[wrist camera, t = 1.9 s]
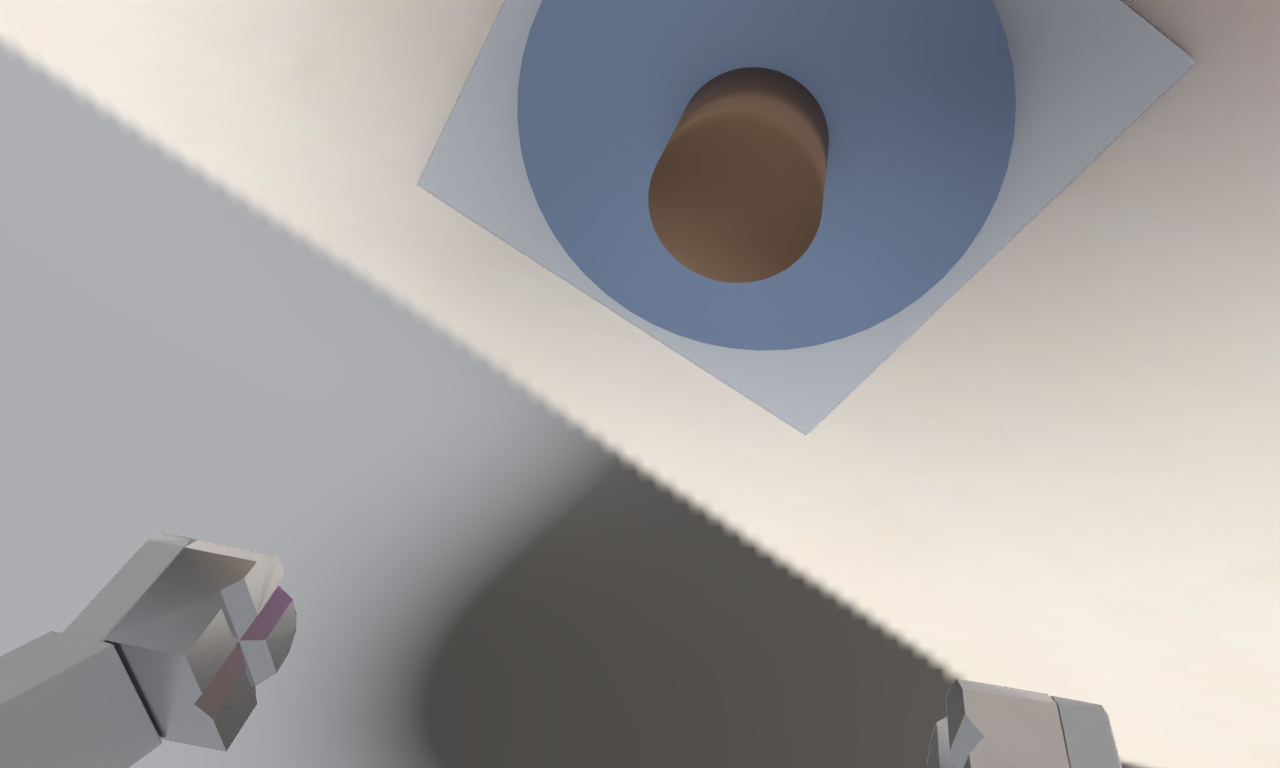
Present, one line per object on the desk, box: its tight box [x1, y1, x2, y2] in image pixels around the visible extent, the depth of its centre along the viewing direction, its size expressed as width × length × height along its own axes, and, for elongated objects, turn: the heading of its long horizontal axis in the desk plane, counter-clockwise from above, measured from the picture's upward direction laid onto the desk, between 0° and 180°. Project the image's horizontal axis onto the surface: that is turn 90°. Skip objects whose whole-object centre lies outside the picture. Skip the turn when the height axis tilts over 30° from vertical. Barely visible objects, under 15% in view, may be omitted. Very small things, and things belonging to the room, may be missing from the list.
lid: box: [517, 0, 1016, 351], centre depth 22 cm, size 13×13×5 cm
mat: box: [417, 0, 1196, 435], centre depth 25 cm, size 15×15×1 cm
